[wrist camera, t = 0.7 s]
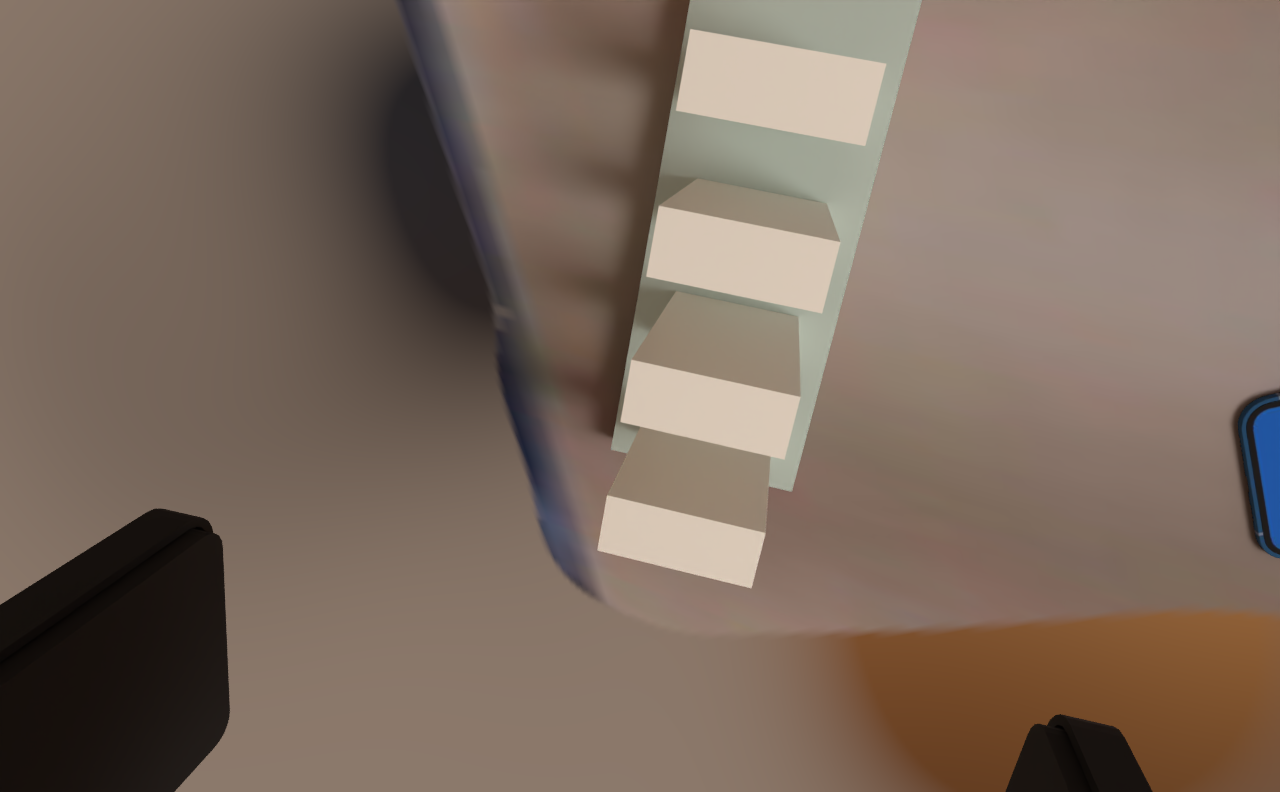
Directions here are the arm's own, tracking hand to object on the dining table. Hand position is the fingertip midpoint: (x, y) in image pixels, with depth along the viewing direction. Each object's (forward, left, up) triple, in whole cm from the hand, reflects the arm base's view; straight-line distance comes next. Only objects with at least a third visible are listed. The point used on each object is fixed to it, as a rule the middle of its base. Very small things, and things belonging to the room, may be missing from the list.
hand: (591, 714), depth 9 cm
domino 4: (+6, 0, -25) cm, 26 cm away
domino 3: (+2, 0, -25) cm, 25 cm away
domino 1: (-7, 0, -25) cm, 26 cm away
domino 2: (-3, 0, -25) cm, 26 cm away
